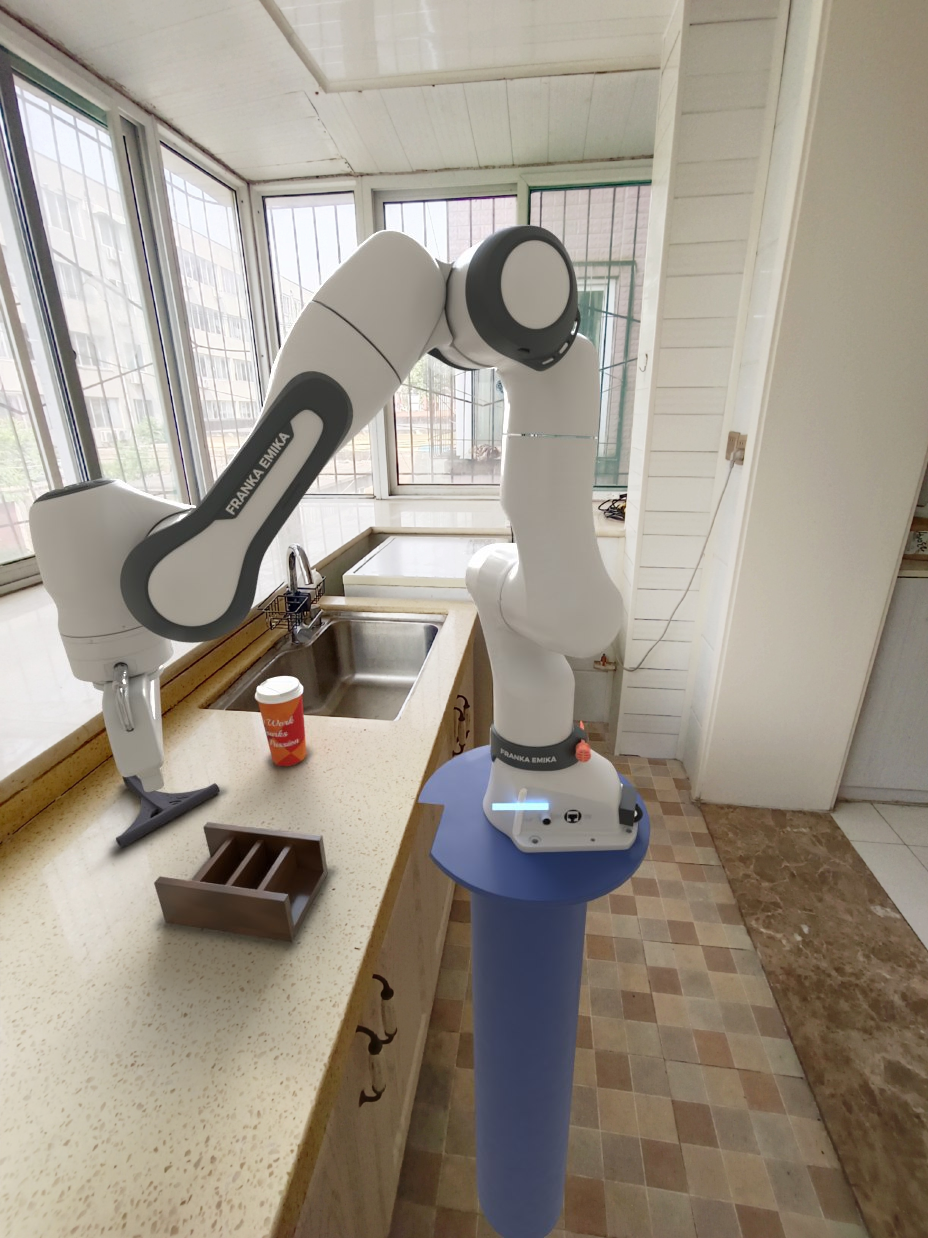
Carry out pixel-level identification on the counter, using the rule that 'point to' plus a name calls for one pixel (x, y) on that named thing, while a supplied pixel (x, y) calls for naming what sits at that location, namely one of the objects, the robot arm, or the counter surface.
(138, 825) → the bracket
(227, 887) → the rack
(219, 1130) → the counter surface
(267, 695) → the paper cup
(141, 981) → the counter surface
